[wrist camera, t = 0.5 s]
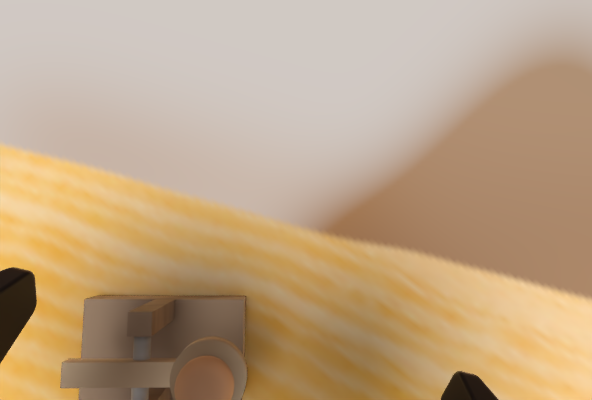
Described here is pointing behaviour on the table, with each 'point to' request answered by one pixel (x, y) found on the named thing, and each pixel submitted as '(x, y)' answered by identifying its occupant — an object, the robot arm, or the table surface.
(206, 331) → the catapult
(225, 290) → the table surface
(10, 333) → the robot arm
